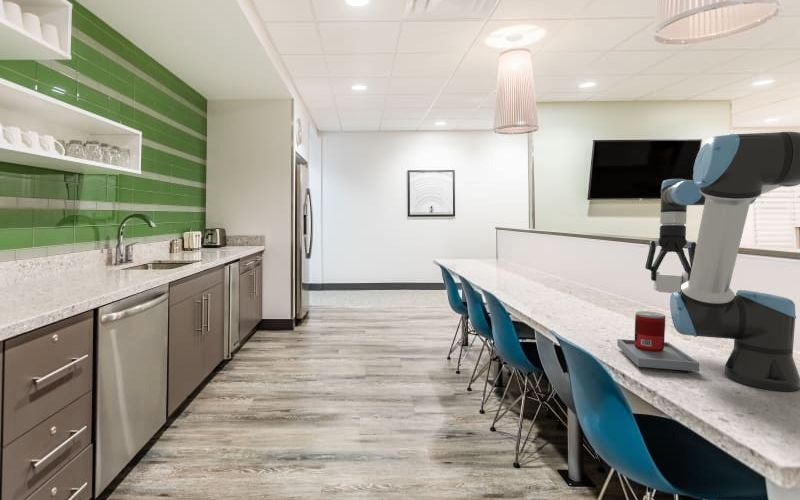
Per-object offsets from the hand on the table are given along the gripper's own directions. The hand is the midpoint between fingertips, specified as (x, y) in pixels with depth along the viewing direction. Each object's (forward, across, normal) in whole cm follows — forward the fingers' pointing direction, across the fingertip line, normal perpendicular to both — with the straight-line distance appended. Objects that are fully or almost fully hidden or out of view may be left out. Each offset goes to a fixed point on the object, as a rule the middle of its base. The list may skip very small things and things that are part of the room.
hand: (670, 290), depth 142 cm
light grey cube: (+1, 0, 0) cm, 1 cm away
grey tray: (+19, +11, +22) cm, 31 cm away
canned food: (+17, +11, +18) cm, 27 cm away
